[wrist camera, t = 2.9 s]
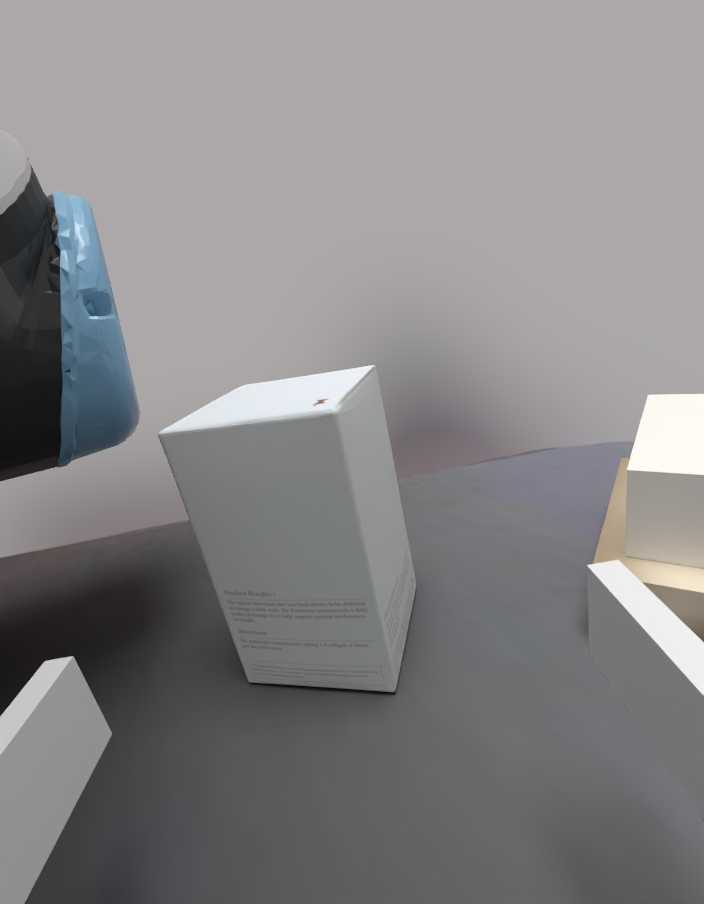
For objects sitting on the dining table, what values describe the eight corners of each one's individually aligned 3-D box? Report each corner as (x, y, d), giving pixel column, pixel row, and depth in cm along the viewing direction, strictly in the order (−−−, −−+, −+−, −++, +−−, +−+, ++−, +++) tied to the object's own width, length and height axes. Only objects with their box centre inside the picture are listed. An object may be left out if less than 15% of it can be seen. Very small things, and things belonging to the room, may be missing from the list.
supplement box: (420, 585, 26) (382, 361, 21) (396, 699, 19) (335, 407, 15) (299, 584, 28) (243, 381, 24) (241, 685, 21) (149, 429, 17)
